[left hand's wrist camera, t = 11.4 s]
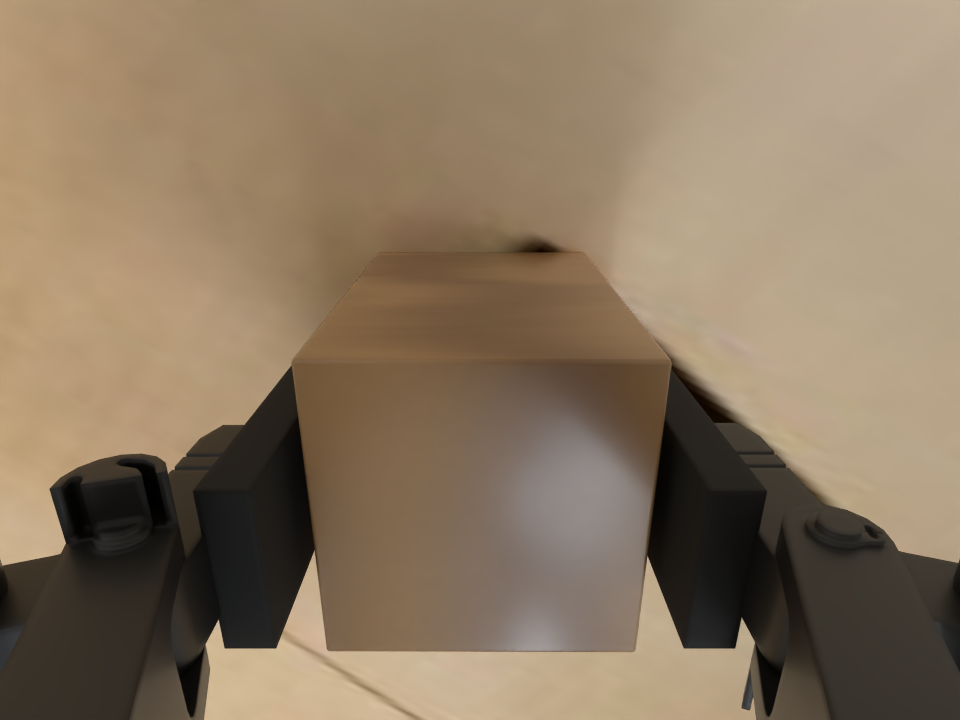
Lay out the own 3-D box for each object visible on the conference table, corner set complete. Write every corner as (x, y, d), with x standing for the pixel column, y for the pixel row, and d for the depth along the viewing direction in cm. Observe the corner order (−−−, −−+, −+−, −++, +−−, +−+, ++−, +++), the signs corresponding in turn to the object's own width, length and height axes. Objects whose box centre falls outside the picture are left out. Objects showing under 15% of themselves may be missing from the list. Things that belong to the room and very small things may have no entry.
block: (390, 435, 18) (326, 653, 10) (379, 251, 16) (289, 360, 8) (572, 436, 18) (635, 653, 10) (584, 251, 16) (673, 360, 8)
